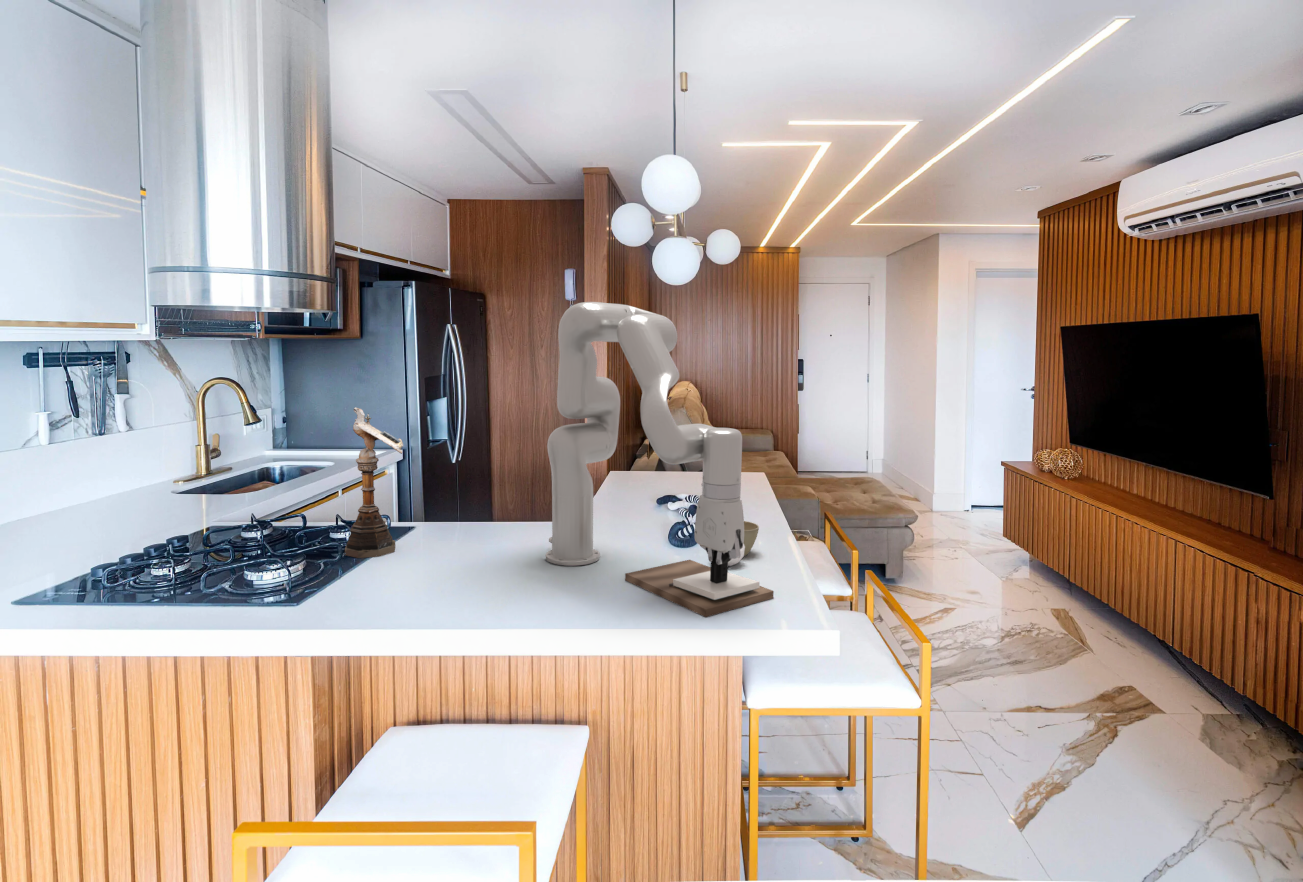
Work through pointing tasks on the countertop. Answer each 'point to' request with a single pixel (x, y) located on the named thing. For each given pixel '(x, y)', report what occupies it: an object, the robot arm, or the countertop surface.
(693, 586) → the tile
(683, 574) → the board
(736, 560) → the ball
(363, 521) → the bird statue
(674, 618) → the countertop surface
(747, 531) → the tan round bowl
